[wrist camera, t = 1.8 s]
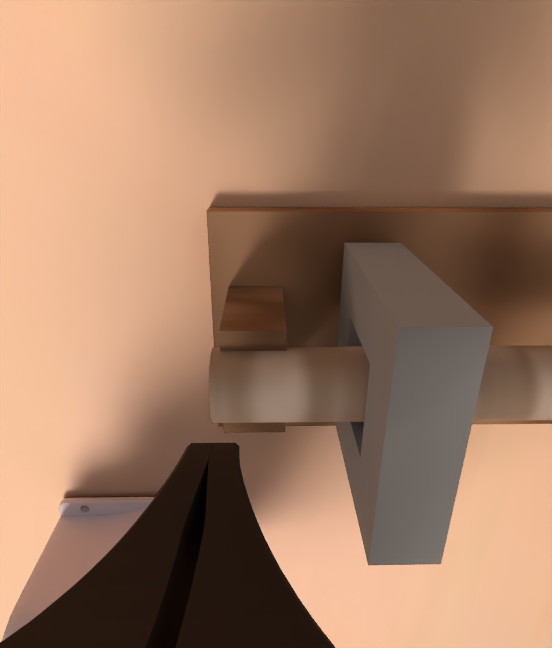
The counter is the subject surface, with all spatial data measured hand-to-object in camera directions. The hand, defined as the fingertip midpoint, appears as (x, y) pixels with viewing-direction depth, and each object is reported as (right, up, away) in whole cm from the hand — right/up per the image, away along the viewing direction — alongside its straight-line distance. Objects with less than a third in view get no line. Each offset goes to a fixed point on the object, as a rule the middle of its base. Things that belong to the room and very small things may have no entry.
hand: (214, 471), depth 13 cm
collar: (+6, +4, +8) cm, 11 cm away
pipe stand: (+11, +4, +10) cm, 15 cm away
